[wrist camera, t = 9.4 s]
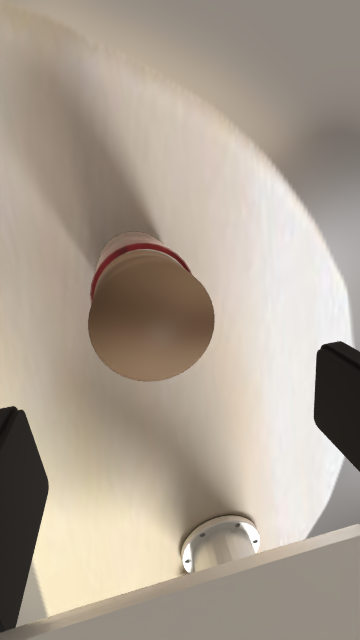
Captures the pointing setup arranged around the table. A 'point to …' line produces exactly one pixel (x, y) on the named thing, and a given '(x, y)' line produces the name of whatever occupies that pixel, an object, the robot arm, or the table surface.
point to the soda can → (127, 244)
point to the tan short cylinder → (149, 317)
